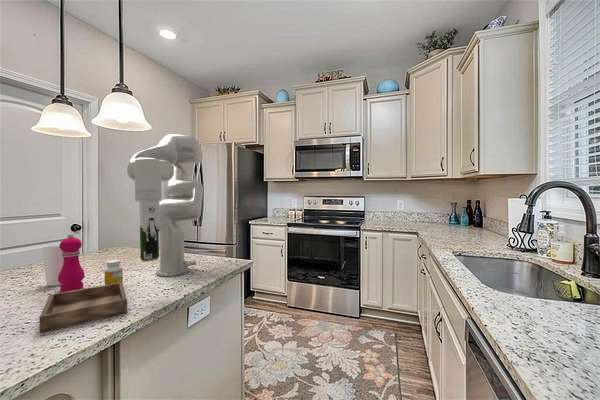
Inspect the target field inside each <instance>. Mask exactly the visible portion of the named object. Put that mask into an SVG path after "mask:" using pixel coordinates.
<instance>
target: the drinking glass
mask: <svg viewBox="0 0 600 400" xmlns="http://www.w3.org/2000/svg"><path fill="white" fill-rule="evenodd" d="M59 246H60V242H57V243H56V242H55V243H49V244H44V245H43V246H42V258H43V266H44V271H45V273H44V274H45V278H46V279H45V281H46V286H47V287H57V286H61V285H62V284H61V283H59V281H58V276H59V273H60V271H61V269H62V267H63V261H64V259H63V257H62V252H63V251H62V250H61V249H60V247H59Z"/></svg>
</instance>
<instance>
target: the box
mask: <svg viewBox="0 0 600 400" xmlns="http://www.w3.org/2000/svg"><path fill="white" fill-rule="evenodd" d="M40 313H41V314H39V333H40V334H42V333H47V332H51V331H54V330H55V331H56V330H59V329H63V328H68V327H73V326H76V325H77V326H78V325H82V324H84V323H86V324H87V323H89V322H94V321H99V320H102V319H107V318H108V319H109V318H111V317H116V316H121V315H125V314H127V313H128V297H127V295H126V291H125V287H124V282H123V283H122V282H120V283H114V284H109V285H105V284H104V285H103V284H102V285H97V286H93V287H87V288H82V289H79V290H73V291H67V292H57V293H56V292H55V293H51V294H49V296H48V298H47V300H46V302H45V304H44V306H43V308H42V311H41V312H40Z"/></svg>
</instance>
